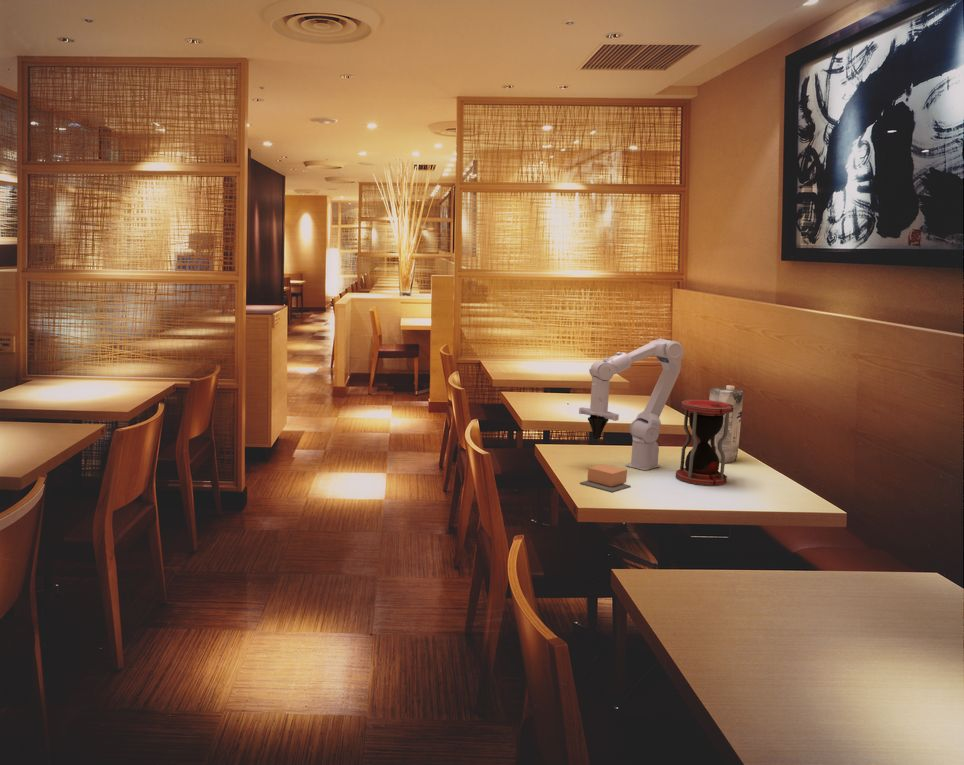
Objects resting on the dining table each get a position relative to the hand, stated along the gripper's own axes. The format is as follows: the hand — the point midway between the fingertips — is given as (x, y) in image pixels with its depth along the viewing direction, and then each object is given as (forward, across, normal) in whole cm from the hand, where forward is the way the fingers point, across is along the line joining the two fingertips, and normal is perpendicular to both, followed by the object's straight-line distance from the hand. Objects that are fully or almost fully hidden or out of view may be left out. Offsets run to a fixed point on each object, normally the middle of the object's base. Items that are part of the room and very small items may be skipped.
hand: (596, 438), depth 279 cm
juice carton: (+11, +20, +49) cm, 54 cm away
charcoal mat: (+10, +14, -14) cm, 22 cm away
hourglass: (+11, +29, +18) cm, 36 cm away
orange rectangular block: (+8, +13, -8) cm, 17 cm away
